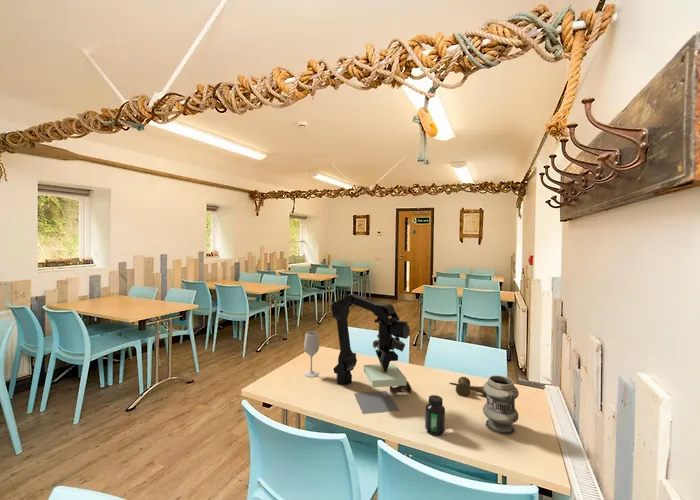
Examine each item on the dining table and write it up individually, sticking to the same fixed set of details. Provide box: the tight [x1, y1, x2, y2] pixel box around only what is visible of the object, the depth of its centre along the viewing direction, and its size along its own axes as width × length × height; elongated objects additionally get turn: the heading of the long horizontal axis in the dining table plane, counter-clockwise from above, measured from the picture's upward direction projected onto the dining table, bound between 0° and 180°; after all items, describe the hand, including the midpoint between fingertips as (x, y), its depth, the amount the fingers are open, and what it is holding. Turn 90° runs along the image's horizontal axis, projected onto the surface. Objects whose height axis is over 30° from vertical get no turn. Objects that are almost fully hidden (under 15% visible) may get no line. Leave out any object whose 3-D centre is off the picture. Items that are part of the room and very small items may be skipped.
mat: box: [353, 390, 400, 415], centre depth 138 cm, size 15×17×1 cm
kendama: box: [448, 376, 487, 397], centre depth 149 cm, size 6×10×20 cm
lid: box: [363, 363, 408, 388], centre depth 141 cm, size 14×16×8 cm
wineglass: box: [303, 330, 320, 378], centre depth 166 cm, size 8×8×21 cm
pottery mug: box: [389, 380, 413, 394], centre depth 149 cm, size 12×10×8 cm
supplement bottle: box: [424, 394, 446, 437], centre depth 119 cm, size 7×7×12 cm
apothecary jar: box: [482, 374, 519, 436], centre depth 122 cm, size 12×12×18 cm
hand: (384, 369), depth 141 cm, fingers closed on lid, 3 cm apart
